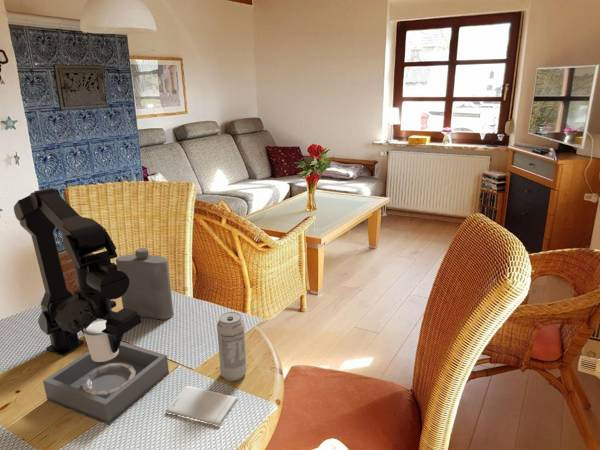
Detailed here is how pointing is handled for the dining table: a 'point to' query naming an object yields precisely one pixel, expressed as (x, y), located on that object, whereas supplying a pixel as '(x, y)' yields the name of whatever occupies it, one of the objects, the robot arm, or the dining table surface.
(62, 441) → the dining table surface
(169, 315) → the flask
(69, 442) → the dining table surface
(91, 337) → the white short cylinder
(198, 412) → the grey flat slab
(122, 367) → the collar
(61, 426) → the dining table surface
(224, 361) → the energy drink can
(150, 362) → the walled box
